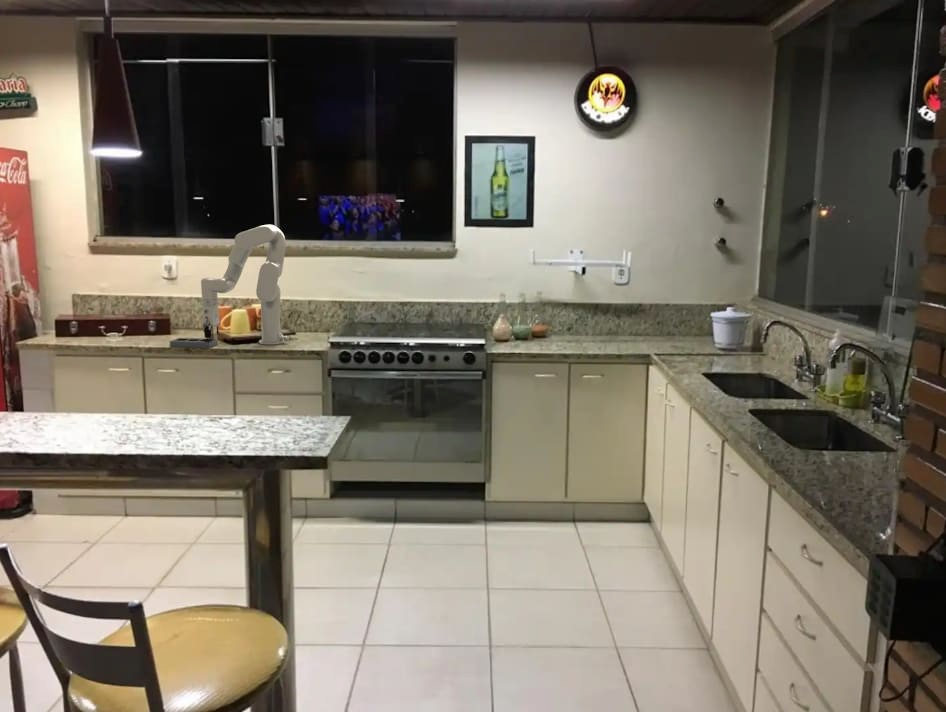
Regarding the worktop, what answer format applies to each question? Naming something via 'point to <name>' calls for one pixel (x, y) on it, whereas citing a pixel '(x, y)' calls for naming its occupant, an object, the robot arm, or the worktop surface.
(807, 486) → the worktop surface
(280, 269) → the robot arm
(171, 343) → the grey compartment tray
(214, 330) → the beech peg
